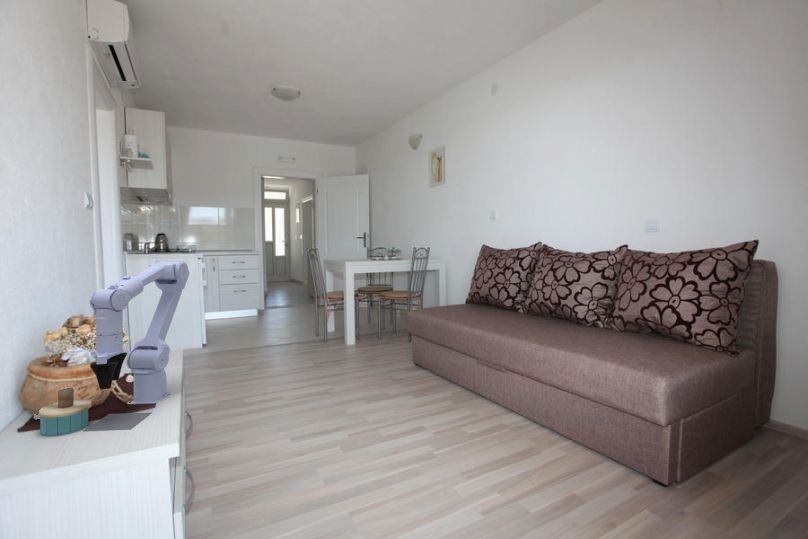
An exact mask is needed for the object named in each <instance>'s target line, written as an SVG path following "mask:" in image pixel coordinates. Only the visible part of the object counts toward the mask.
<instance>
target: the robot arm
mask: <svg viewBox="0 0 808 539" xmlns="http://www.w3.org/2000/svg"><path fill="white" fill-rule="evenodd" d="M189 276H190V271H189V267H188V264H187V262H185V261H183V260H182V261H181V260H180V261H166V260H165V261H164V260H163V261H161V260H154V261H153V262H150V263H149V265H148V267H146V269H145V270H142V271H141V272H140V273H139V274H137V275H136V276H134V275H133V276H132V275H124V276H123V277H122V279H121V280H119V281H118V282H116V283H112V284H110V286H109V287H107V288H101V289H98V290H96V291H95V292H94V293H93V294H92V295H91V298H90V300H89V305H90V308H91V309H92V310H93V316H94V317H95V334H96V335H95V342H96V343H95V347H96V348H95V349H96V350H95V349H94V350H92V351H90V355H95V357H96V361H94V362H93V361H92V362H91V363H90V364H89V367H90V369H91V371H93V373H94V375H95V376H96V380H97V384H98V386H99V390H109V389H111V388H112V385H113V382H115V381H119V379H120V375H121V372H122V367H123V364H124V361H125V360H126V362H125V363H126V366H127V368H128V369H129V370H130V372H131V374H133V399H134V401H132V402H131V403H129V402H130V401H129V402H127V405H139V404H140V405H141V404H142V405H143V404H149V405H150V404H157V403H159V401H161V400H162V399H164V398H165V397H166V396H168V395H170V392H169V391H167V372H166V371H165V368H166V367H167V366H168V364H169V360H170V351H171V347H170V346H169V345H168V344H167V343H166V342H165V340H166V338H167V335H168V332H169V330H170V327H171V324H172V321H173V319H174V316H175V313H176V309H177V307H178V304H179V301H180V300H181V296H182V293H183V290H184V289H185V287H186V285H187V282H188V279H189ZM153 282H154V283H155V285H156V287H157V288H158V289H159V290H161V292H162V293H161V296H160V298H159V301H158V303H157V306H156V308H155V310H154V313H153V316H152V319H151V321H150V324H149V326H148V329H147V331H146V334H145V336H144V338H142V339H140V340H139V341H137V342H135V343H134V344H133V347H132V349H131V350H130V351H129V353H128V352H126V351H124V338H123V337H124V334H123V333H124V332H123V331H124V330H123V329H124V327H123V326H124V325H123V324H124V322H123V321H124V320H123V317H124V316H123V315H124V313H123V312H124V310H126V309H127V307H128V305H129V302H130V301H131V300H132V299H133V298H135V297H136V296H138V295H140V294H142V292H143V291H144V288H145V287H146V286H147V285H149V284H151V283H153Z"/></svg>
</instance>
